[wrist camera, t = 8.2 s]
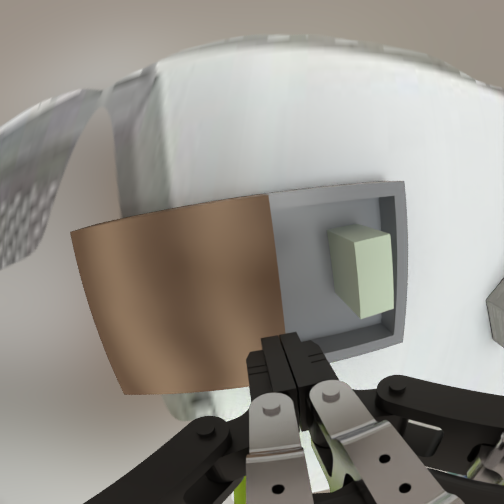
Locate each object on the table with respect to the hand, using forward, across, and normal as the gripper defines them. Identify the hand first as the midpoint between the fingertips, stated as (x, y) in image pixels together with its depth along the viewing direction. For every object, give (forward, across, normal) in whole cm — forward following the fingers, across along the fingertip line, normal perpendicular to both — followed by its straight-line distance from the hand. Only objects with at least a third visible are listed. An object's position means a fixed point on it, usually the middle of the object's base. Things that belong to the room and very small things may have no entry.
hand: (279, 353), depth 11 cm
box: (+10, -6, 0) cm, 12 cm away
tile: (+7, -6, 0) cm, 9 cm away
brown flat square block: (+10, +5, 0) cm, 12 cm away
